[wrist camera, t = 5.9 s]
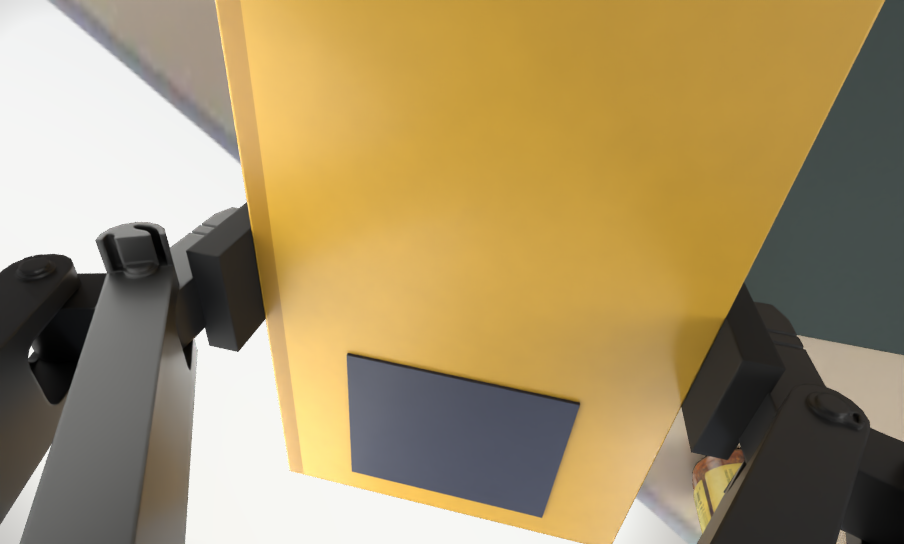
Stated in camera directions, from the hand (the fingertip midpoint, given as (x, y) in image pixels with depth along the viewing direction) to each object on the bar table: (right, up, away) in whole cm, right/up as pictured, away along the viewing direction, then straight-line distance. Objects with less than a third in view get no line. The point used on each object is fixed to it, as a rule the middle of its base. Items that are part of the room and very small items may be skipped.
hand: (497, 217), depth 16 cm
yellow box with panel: (0, 0, 0) cm, 0 cm away
